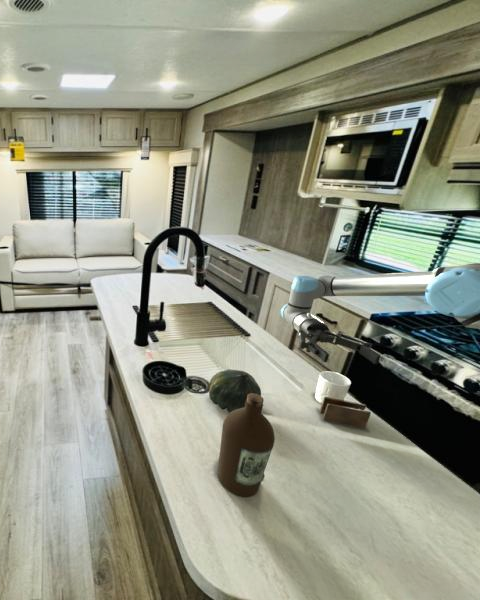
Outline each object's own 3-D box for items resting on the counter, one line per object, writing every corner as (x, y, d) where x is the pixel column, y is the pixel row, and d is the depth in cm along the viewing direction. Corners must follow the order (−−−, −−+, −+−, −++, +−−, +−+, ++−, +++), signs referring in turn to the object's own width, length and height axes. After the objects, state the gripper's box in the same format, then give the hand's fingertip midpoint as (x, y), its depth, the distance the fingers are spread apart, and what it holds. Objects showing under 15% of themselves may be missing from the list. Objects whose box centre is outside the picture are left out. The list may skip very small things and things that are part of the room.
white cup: (339, 400, 103) (348, 375, 100) (344, 415, 97) (353, 388, 94) (311, 393, 107) (318, 368, 104) (313, 406, 101) (321, 381, 97)
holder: (357, 421, 94) (364, 403, 92) (364, 433, 90) (371, 414, 88) (318, 413, 98) (323, 395, 95) (322, 424, 94) (328, 405, 91)
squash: (210, 371, 111) (215, 358, 99) (256, 381, 106) (268, 369, 93) (204, 411, 106) (209, 402, 93) (253, 424, 101) (265, 417, 88)
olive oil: (206, 463, 82) (220, 384, 73) (245, 460, 82) (263, 381, 73) (227, 502, 72) (246, 416, 63) (271, 498, 73) (296, 412, 64)
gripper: (275, 317, 111) (308, 346, 91) (352, 319, 108) (404, 349, 88) (271, 335, 113) (302, 368, 94) (346, 338, 110) (395, 372, 91)
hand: (352, 359), depth 91 cm, fingers open, 13 cm apart
